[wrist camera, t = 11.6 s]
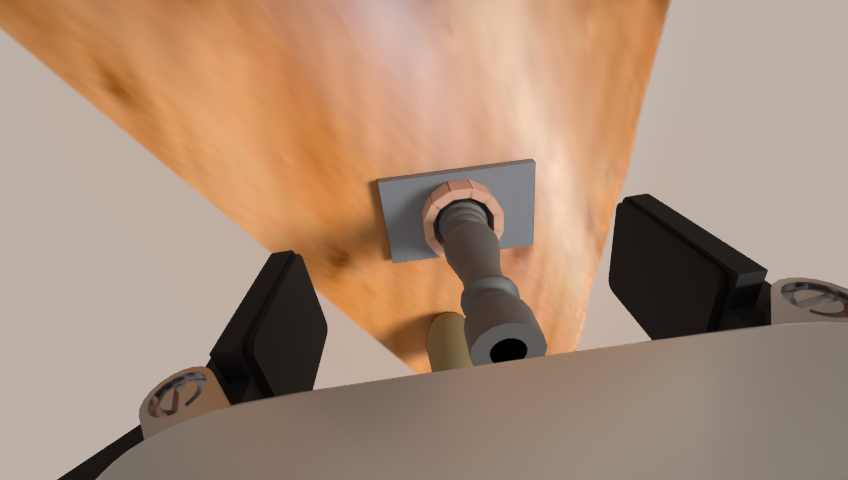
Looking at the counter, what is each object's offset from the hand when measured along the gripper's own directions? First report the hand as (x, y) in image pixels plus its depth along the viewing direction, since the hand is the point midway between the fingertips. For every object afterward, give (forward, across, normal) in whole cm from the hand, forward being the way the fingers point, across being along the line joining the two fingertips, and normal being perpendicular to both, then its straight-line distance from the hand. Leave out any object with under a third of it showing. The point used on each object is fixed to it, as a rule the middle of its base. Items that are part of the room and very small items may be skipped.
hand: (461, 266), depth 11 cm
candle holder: (+35, -3, +15) cm, 39 cm away
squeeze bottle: (+36, +1, +35) cm, 51 cm away
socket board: (+37, -3, +15) cm, 40 cm away
